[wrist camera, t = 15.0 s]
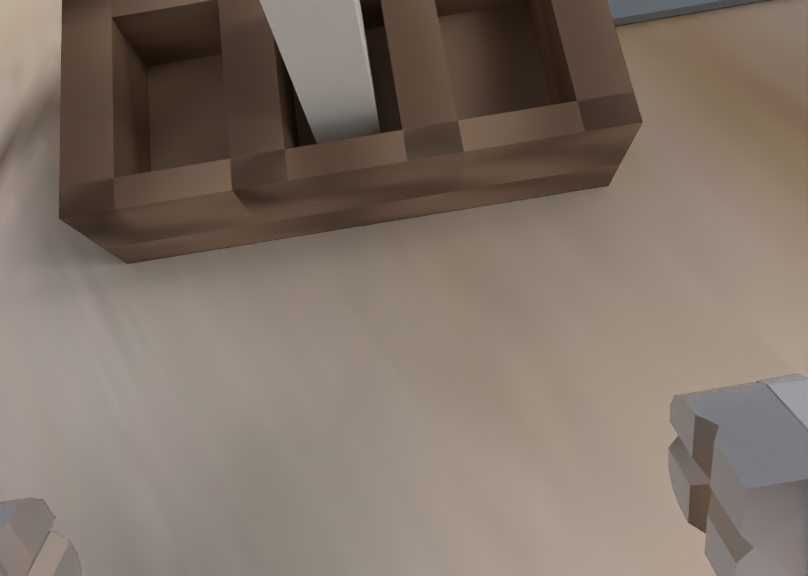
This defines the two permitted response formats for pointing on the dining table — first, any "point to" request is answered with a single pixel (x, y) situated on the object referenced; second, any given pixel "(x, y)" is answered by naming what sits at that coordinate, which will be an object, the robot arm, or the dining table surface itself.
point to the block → (327, 64)
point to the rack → (290, 131)
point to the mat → (663, 8)
